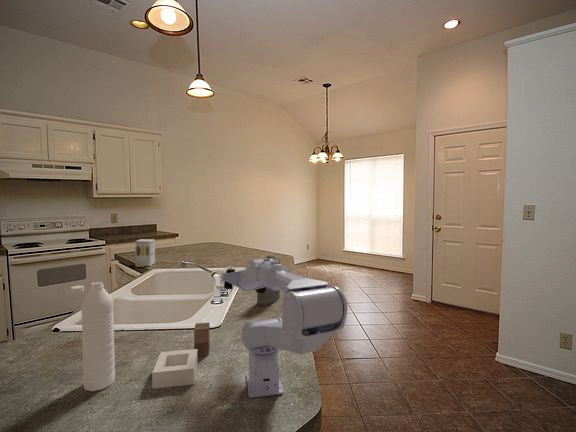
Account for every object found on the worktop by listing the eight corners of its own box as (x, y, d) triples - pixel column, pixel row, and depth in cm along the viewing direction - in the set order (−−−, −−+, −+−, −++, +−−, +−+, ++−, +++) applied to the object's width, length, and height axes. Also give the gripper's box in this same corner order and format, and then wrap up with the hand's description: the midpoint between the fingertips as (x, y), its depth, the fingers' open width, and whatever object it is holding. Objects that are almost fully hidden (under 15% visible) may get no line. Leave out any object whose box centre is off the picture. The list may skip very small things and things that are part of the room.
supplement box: (134, 267, 190) (134, 240, 189) (140, 263, 199) (140, 238, 198) (150, 266, 191) (150, 241, 190) (155, 263, 200) (155, 239, 199)
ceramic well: (194, 384, 72) (194, 368, 72) (152, 388, 70) (152, 372, 70) (197, 362, 82) (197, 348, 81) (160, 366, 80) (160, 352, 79)
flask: (266, 306, 124) (267, 259, 123) (254, 304, 127) (255, 258, 126) (283, 296, 138) (283, 253, 136) (272, 294, 140) (272, 252, 139)
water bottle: (105, 372, 77) (103, 277, 75) (120, 380, 73) (118, 281, 72) (67, 391, 69) (63, 286, 68) (81, 401, 66) (78, 290, 64)
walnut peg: (208, 355, 86) (208, 328, 85) (194, 356, 85) (194, 329, 85) (209, 348, 90) (209, 322, 89) (195, 349, 89) (195, 323, 88)
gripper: (278, 266, 84) (263, 275, 96) (228, 258, 80) (218, 268, 91) (276, 291, 82) (261, 297, 93) (224, 285, 77) (215, 292, 88)
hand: (240, 284), depth 92 cm, fingers open, 7 cm apart
